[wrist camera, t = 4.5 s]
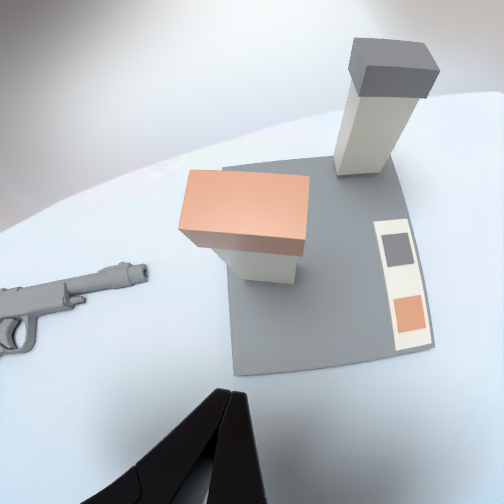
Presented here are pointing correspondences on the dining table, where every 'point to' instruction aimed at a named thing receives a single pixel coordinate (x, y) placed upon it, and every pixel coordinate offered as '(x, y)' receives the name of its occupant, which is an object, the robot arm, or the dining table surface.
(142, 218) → the dining table surface
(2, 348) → the handgun
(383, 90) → the lever
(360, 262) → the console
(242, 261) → the lever
